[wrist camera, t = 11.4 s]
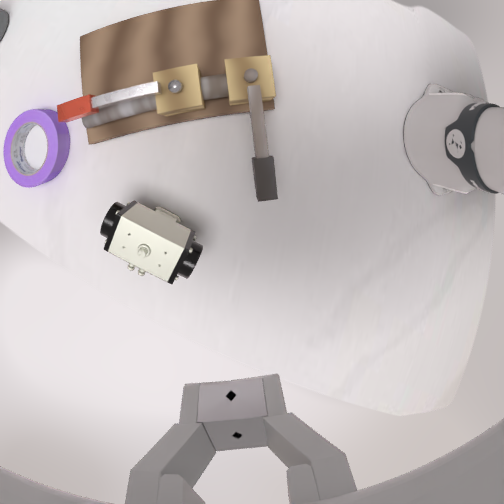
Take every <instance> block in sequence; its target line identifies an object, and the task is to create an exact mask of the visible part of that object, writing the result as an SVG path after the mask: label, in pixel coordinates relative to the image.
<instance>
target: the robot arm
mask: <svg viewBox="0 0 504 504" xmlns="http://www.w3.org/2000/svg"><path fill="white" fill-rule="evenodd" d="M439 92H440V93H439ZM404 143H405V148H406V152H407V155H408V158H409V160H410V162H411V164H412V166H413V167H414V169H415V170H416V171H417V172H418V173H419V174H420V175H421V176H422V177H423V178H424V179H425V180H426V181H427V182H428V184H429V186H430V188H431V190H432V192H433V193H434V194H435V195H443V194H446V193H449V192H452V191H456V192H460V193H463V194H468V192H470V191H473V190H475V189H477V188H478V189H479V190H481V191H484V192H490V193H502V194H504V108H502V107H499V106H497V105H495V104H489V103H485V102H484V100H483V99H480V98H475V97H474V98H473V96H472V95H469V94H464V93H455V92H453V91H450V90H448V89H446V88H444V87H442V86H440V85H437V84H429V85H428V87H427V88H426V91H425V93H424V95H423V97H422V98H420V99H419V100H418V101H417V102H415V103H414V105H413V106H412V107H411V109H410V110H409V112H408V114H407V117H406V121H405V126H404ZM262 379H263V380H262ZM264 392H265V393H264ZM265 446H268V447H269V448H270V450H271V451H272V452H273V453H274V454H275V455H276V456H277V457H278V458H279V459H280V460H281V461H282V462H283V463H284V464H285V465H286V466H287V467H288V468H289V469H288V470H287V483H288V496H289V502H290V504H504V419H502V420H501V421H499V422H498V423H497V424H495V425H494V426H492V427H491V428H489V429H488V430H486V431H485V432H483V433H482V434H480V435H479V436H477V437H475V438H474V439H472V440H470V441H469V442H467V443H466V444H464V445H462V446H460V447H458V448H457V449H455V450H453V451H451V452H450V453H448V454H446V455H444V456H442V457H440V458H438V459H436V460H434V461H432V462H430V463H428V464H426V465H423V466H421V467H419V468H417V469H415V470H412V471H410V472H408V473H405V474H403V475H400V476H398V477H395V478H393V479H390V480H387V481H385V482H382V483H379V484H376V485H373V486H371V487H367V488H364V489H361V490H358V491H357V488H356V485H355V482H354V479H353V476H352V473H351V470H350V467H349V464H348V461H347V458H346V454H345V453H344V452H342V451H341V450H340V449H338V448H337V447H336V446H334V445H333V444H331V443H330V442H329V441H327V440H326V439H325V438H323V437H322V436H321V435H320V434H318V433H317V432H315V431H314V430H313V429H312V428H310V427H309V426H308V425H307V424H305V423H304V422H303V421H302V420H300V419H299V418H298V417H297V416H296V415H294V414H293V413H287V412H286V407H285V402H284V397H283V392H282V387H281V382H280V378H279V375H278V374H272V375H266V376H258V377H252V378H245V379H237V380H231V381H222V382H221V381H220V382H206V383H190V384H185V386H184V388H183V395H182V404H181V412H180V420H179V424H174V425H173V426H172V427H171V428H170V429H169V430H168V432H167V433H166V434H165V435H164V436H163V437H162V438H161V439H160V440H159V441H158V442H157V443H156V444H155V445H154V447H153V448H152V449H151V450H150V451H149V452H148V453H147V454H146V455H145V456H144V457H143V458H142V459H141V460H140V461H139V462H138V463H137V464H136V465H135V466H134V467H133V468H132V469H131V471H130V477H129V482H128V488H127V494H126V500H125V504H205V502H204V501H203V500H202V499H201V498H200V496H199V495H198V494H197V493H196V492H195V491H194V490H193V489H192V488H193V486H194V485H195V484H196V482H197V481H198V479H199V478H200V476H201V475H202V473H203V472H204V470H205V469H206V467H207V466H208V464H209V463H210V461H211V460H212V458H213V457H214V455H215V453H216V451H224V450H233V449H243V448H255V447H265ZM0 504H112V503H107V502H102V501H98V500H94V499H90V498H86V497H82V496H78V495H75V494H71V493H68V492H64V491H61V490H58V489H55V488H52V487H49V486H46V485H44V484H41V483H38V482H36V481H33V480H30V479H28V478H26V477H23V476H21V475H18V474H16V473H14V472H12V471H9V470H7V469H5V468H3V467H1V466H0Z"/></svg>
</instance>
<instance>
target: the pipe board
mask: <svg viewBox="0 0 504 504" xmlns="http://www.w3.org/2000/svg"><path fill="white" fill-rule="evenodd" d="M80 59H81V78H82V92H83V96H86V95H89V94H91V95H95V96H99V95H102V94H106V93H109V92H113V91H117V90H121V89H125V88H129V87H133V86H137V85H141V84H146V83H151V82H156V81H158V82H159V83H161V94H159V95H153V96H149V97H144V98H139V99H135V100H130V101H126V102H122V103H118V104H114V105H110V106H107V107H103V108H100V109H99V113H95V114H92V115H89V116H85V117H82V122H83V124H84V126H85V127H86V128H87V135H88V142H89V144H96V143H99V142H102V141H106V140H109V139H113V138H116V137H120V136H124V135H127V134H131V133H135V132H139V131H143V130H148V129H152V128H156V127H161V126H166V125H170V124H175V123H180V122H186V121H191V120H197V119H203V118H209V117H215V116H222V115H229V114H237V113H246V112H250V116H251V123H252V131H253V139H254V148H255V156H256V157H253V158H252V164H253V172H254V180H255V189H256V197H257V199H258V202H259V201H266V200H274V199H278V197H277V187H276V177H275V168H274V159H273V157H272V156H269V153H268V145H267V136H266V128H265V120H264V112H263V111H265V110H273V109H275V108H274V100H273V98H274V97H275V96H276V94H275V86H274V79H273V71H272V64H271V57H270V55H267V49H266V42H265V36H264V30H263V23H262V17H261V11H260V5H259V0H214V1H207V2H200V3H194V4H188V5H183V6H178V7H173V8H168V9H164V10H160V11H156V12H152V13H148V14H144V15H141V16H137V17H134V18H130V19H127V20H124V21H121V22H118V23H115V24H112V25H109V26H106V27H103V28H101V29H98V30H96V31H93V32H90V33H88V34H85V35H83V36H81V37H80ZM172 80H178V81H180V83H181V84H182V85H183V89H182V91H181V92H180V93H177V94H174V93H172V92H171V91H170V90H169V89H168V84H169V82H170V81H172Z"/></svg>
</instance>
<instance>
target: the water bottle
mask: <svg viewBox="0 0 504 504" xmlns="http://www.w3.org/2000/svg"><path fill="white" fill-rule="evenodd" d="M7 24H8V14H7V12H6V11H5V10H2V9H0V40H1V39H2V37H3V35H4V33H5V31H6V28H7Z"/></svg>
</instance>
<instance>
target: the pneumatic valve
mask: <svg viewBox="0 0 504 504" xmlns="http://www.w3.org/2000/svg"><path fill="white" fill-rule="evenodd" d="M178 217H179V216H177V215H175V214H173V213H171V212H169V211H167V210H165V209H163V208H161V207H156V208H155V211H153V210H151V209H150V208H148V207H146V206H144V205H142V204H140V203H138V202H136V201H132V202H131V203H129V202H128V204H127V206H125V205H123V204H121V203H119V202H115V203H114V204H113V205H112V206H111V208H110V209H109V211H108V212H107V214H106V216H105V218H104V221H103V223H102V226H101V230H100V233H101V235H102V236H104V237H106V238H107V240H106V241H105V247H104V250H106V251H107V252H109V253H111V254H113V255H115V256H117V257H119V258H121V259H123V260H124V261H126V262H128V263H129V265H128V269H129V270H131V271H133V270H134V269H135V268H134V267H135V266H136V267H138V268H139V270H138V274H139V275H140V276H144V275H145V272H148V273H150V274H152V275H154V276H156V277H158V278H160V279H162V280H164V281H166V282H168V283H170V284H173V282H174V280H177V279H178V277H179V276H177V274H178V275H180V276H182V277H184V278H186V279H187V278H188V277H189V276H190V275H191V273H192V271H193V269H194V267H195V265H196V263H197V261H198V259H199V257H200V255H201V252H202V249H203V246H202V245H201V244H199V243H197V242H195V239H196V237H195V236H194V235H195V232H194V231H192V230H190V229H188V228H186V227H185V226H183V225H181V224H179V222H180V221H181V220H180V218H178ZM177 222H178V223H177Z"/></svg>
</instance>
